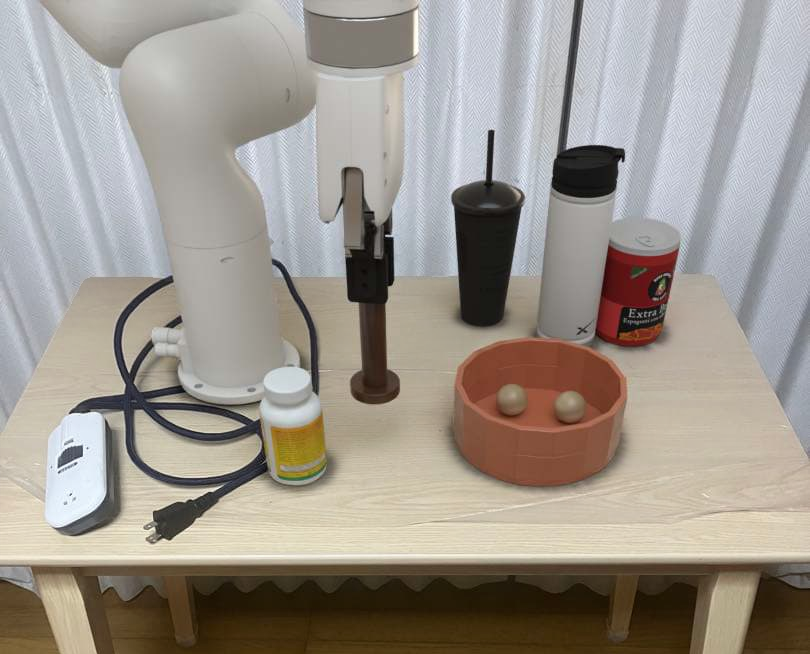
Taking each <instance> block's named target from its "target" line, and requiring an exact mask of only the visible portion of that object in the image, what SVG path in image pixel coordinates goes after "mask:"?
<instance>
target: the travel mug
mask: <svg viewBox="0 0 810 654" xmlns="http://www.w3.org/2000/svg"><path fill="white" fill-rule="evenodd" d="M620 161H621V163H625V161H626V149H625V148H624V147H614V146H610V145H603V144H586V145H580V146H574V147H570V148H567V149H564V150H562V151H560V152H559V153H557V155H556V157H555V158H554V159H553V163H552V176H551V181H550V191H549V198H548V207H547V208H548V209H547V219H546V229H545V239H544V247H543V248H544V249H543V259H542V268H541V279H540V289H539V298H538V300H539V301H538V308H537V309H538V311H537V319H536V322H537V323H536V329H535V330H536V331H535V337H536V338H552V339H562V340H565V341H569V342H573V343H576V344H580V345H583V346H587V347H590V348H592V346H593V345H594V342H595V336H596V333H595V328H596V323H597V317H598V310H599V303H600V297H601V290H602V283H603V277H604V270H605V263H606V257H607V250H608V244H609V237H610V230H611V224H612V222H613V217H614V210H615V203H616V194H617V190H618V178H619V162H620Z"/></svg>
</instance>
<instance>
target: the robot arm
mask: <svg viewBox="0 0 810 654" xmlns="http://www.w3.org/2000/svg"><path fill="white" fill-rule="evenodd" d="M37 1H38V3H40V4H41V6H42V7H43V8H44V9H45V10H46V12H48V14H50V15H51V17H52V18H53V19H54V20H55V21H56V22H57V23H58V24H59V25H60V27H62V29H63V30H64V31H65V32H66V33H67V34H68V35H69V36H70V37H71V38H72V40H73V41H74V42H75V43H76V44H77V45H78V46H79V47H80V48H81V49H82V50H83V51H85V53H86V54H87V55H88V56H89V57H91V59H93V60H94V61H95V62H97V63H98V64H100V65H102V66H104V67H107V68H109V69H110V68H111V69H120V71H119V77H118V90H119V96H120V100H121V104H122V108H123V111H124V114H125V117H126V120H127V122H128V125H129V127H130V130H131V131H132V134H133V136H134V139H135V142H136V144H137V146H138V150H139V152H140V154H141V157H142V160H143V162H144V166H145V169H146V171H147V174H148V177H149V180H150V181H149V182H150V184H151V189H152V191H153V195H154V199H155V204H156V207H157V212H158V216H159V217H158V218H159V221H160V226H161V230H162V231H161V232H162V235H163V238H164V243H165V248H166V252H167V257H168V262H169V265H170V266H169V268H170V271H171V275H172V279H173V280H172V281H173V285H174V289H175V290H174V291H175V295H176V299H177V304H178V308H179V312H180V317H181V322H182V327H181V328H180V329H179V328H172V327H162V326H160V327H159V326H154V327H153V328H152V330H151V336H150V337H151V342H152V344H153V346H154V355H155V356H156V357H162V358H170V357H172V358H173V357H174V358H177V360H179V363H178V366H177V376H178V380H179V384H180V385H181V388H182V390H184V391H185V392H186V393H187V394H188V395H190V396H192V397H193V398H195V399H198V400H200V401H203V402H206V403H211V404H215V405H226V406H227V405H228V406H231V405H233V406H234V405H244V404H245V405H246V404H252V403H257V402H261V401H262V399H263V398H264V397H265V394H264V385H263V380H264V377H265V376H266V375H267V374H268V373H269V372H271V371H273V370H275V369H278V368H281V367H299V368H302V367H301V358H300V357H301V356H300V353H299V351H298V350H297V348H296V347H295V346H294V345H293V344H291V342H289V341H288V340H285V339H283V336H282V329H281V321H280V314H279V313H280V312H279V305H278V297H277V291H276V290H277V289H276V283H275V282H276V281H275V274H274V266H273V260H272V252H271V244H270V237H269V229H268V222H267V215H266V208H265V207H266V206H265V202H264V199H263V195H262V193H261V190H260V188H259V186H258V185H257V183H256V182H255V180H254V179H253V178H252V176H251V175H249V174H248V172H247V171H246V170H245V168H243V166H242V165H241V164H240V163H239V161H238V159H237V157H236V151H237V149H238V148H240V147H243V146H245V145H248V144H250V143H251V142H253V141H256V140H258V139H262V138H264V137H267V136H270V135H273V134H276V133H278V132H281V131H284V130H287V129H289V128H291V127H294V126H295V125H297V124H299V123H301V122H302V121H304V119H306V118H307V117H308V116H309V115H310V114H311V112H312V111H313V110H314V109H315V151H316V154H315V155H316V179H317V180H316V181H317V205H318V206H317V207H318V217H319V219H320V221H321V222H322V223H323V224H324V225H325V224H326V225H328V224H330V223H331V222H335V219H336V217H337V215H338V214H339V212H340V209H341V208H342V219H343V247H344V259H345V279H346V295H347V296H346V297H347V300H348V301H349V302H350V303H358V304H359V303H370V304H387V302H388V299H389V287H392V286H393V285H394V283H395V237H394V236H392V234H393V227H394V225H393V223H394V222H393V221H394V220H393V207H394V204H395V203H396V199H397V197H398V194H399V192H400V189H401V186H402V182H403V178H404V171H405V170H404V169H405V146H406V145H405V138H406V137H405V134H406V133H405V129H406V127H405V123H406V122H405V87H404V86H405V84H404V82H405V76H404V72H407V71H409V70H410V69H412V68H414V67H416V66H417V65H418V63H419V61H420V60H419V59H420V55H419V28H420V27H419V25H420V23H419V20H420V19H419V17H420V15H419V13H420V12H419V11H420V10H419V7H420V5H419V4H420V3H419V0H302V12H303V13H302V14H303V24H304V25H303V26H304V29H302V28H301V26H300V25H299V23H298V22H297V21H296V19H294V17H293V16H292V15H291V14H290V13H289V12H288V10H287V9H286V8H285V7H284V6H283V5H282V4H281V3H280V2H279V1H278V0H37ZM303 30H304V31H303ZM383 226H384V254H383ZM364 227H368V228H373V236H372V233H371V232H365V230H364Z"/></svg>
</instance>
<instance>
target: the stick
mask: <svg viewBox="0 0 810 654" xmlns="http://www.w3.org/2000/svg"><path fill="white" fill-rule="evenodd" d="M364 230H365V232H371V233H372V236H373V228H368V227H364ZM383 254H384V226H383ZM386 304H387V303H386ZM386 304H370V303H358V317H359V318H358V320H359V322H358V323H359V338H360V339H359V341H360V342H359V343H360V358H361V360H360V361H361V362H360V363H361V370H358V371H357V372H356V373H354V374H353V375H352V376H351V377H350V379H349V390H350V395H351V397H352V398H353V399H354V400H356V401H357V402H359V403H361V404H365V405H372V406H374V405H375V406H376V405H384V404H387V403H390V402H392V401H394V400H395V399H396V398H398V396H399V395H400V393H401V379H400V377H399V375H398V374H397V373H396V372H394V371H393V370H391V369H388V351H387V349H388V348H387V344H388V343H387V310H386V309H387V308H386Z"/></svg>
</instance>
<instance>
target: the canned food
mask: <svg viewBox="0 0 810 654" xmlns="http://www.w3.org/2000/svg"><path fill="white" fill-rule="evenodd" d="M681 237H682V235H681V233H680V231H679V230H678V229H677V228H675V227H674V226H673V225H671V224H669V223H667V222H665V221H661V220H659V219H654V218H648V217H625V218H619V219H616V220H614V221H613V220H612V224H611V230H610V237H609V244H608V250H607V257H606V263H605V270H604V277H603V283H602V290H601V297H600V303H599V310H598V317H597V323H596V328H595V335H597V336H598V337H599V338H601V339H602V340H604V341H607V342H609V343H611V344H613V345H618V346H624V347H639V346H644V345H648V344H651V343H652V342H654V341H655V340H656V339H657V338H658V337H659V335H660V333H661V332H662V330H663V326H664V324H665V323H664V322H665V318H666V313H667V308H668V305H669V300H670V294H671V290H672V285H673V281H674V277H675V276H674V275H675V271H676V268H677V261H678V257H679V253H680V246H681Z"/></svg>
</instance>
